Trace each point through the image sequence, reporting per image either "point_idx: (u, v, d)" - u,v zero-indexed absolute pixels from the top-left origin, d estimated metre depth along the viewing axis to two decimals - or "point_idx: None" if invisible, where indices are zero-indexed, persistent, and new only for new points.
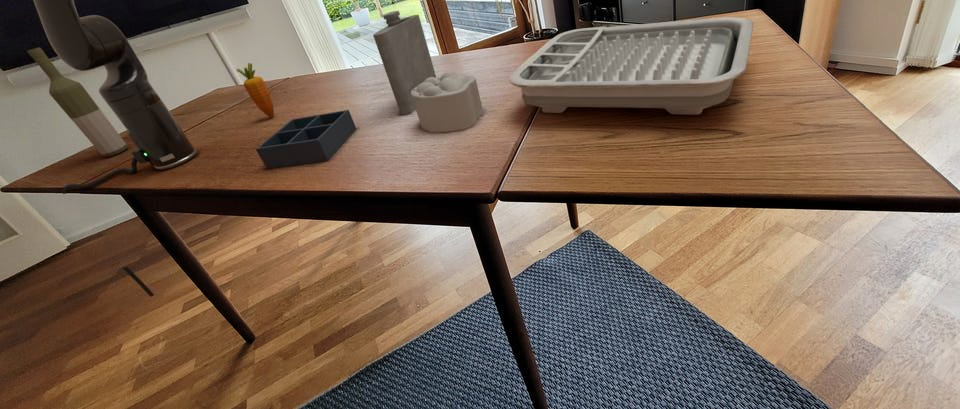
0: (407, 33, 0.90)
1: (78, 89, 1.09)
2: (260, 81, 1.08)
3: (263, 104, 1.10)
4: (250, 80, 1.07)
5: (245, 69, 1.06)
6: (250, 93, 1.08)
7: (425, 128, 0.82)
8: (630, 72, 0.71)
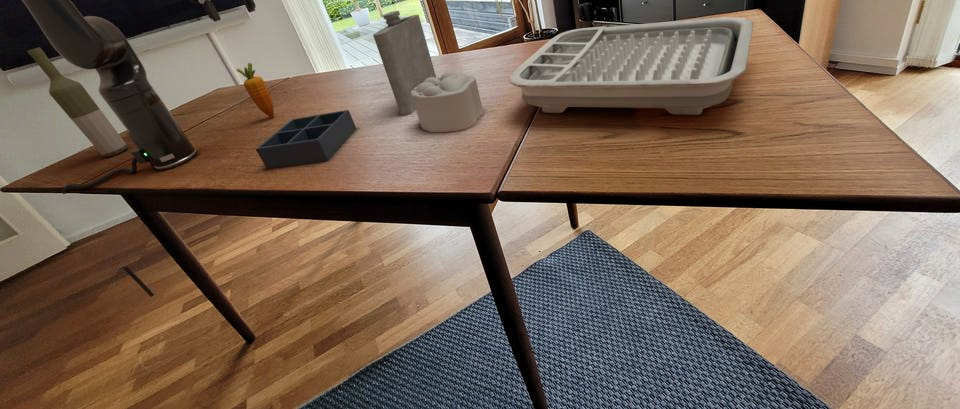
0: (407, 33, 0.90)
1: (78, 89, 1.09)
2: (260, 81, 1.08)
3: (263, 104, 1.10)
4: (250, 80, 1.07)
5: (245, 69, 1.06)
6: (250, 93, 1.08)
7: (425, 128, 0.82)
8: (630, 72, 0.71)
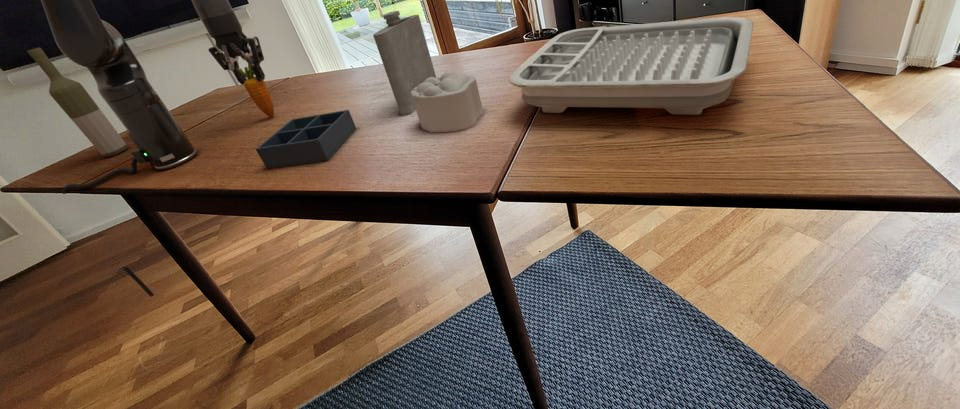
0: (407, 33, 0.90)
1: (78, 89, 1.09)
2: (260, 81, 1.08)
3: (263, 104, 1.10)
4: (250, 80, 1.07)
5: (245, 69, 1.06)
6: (250, 93, 1.08)
7: (425, 128, 0.82)
8: (630, 72, 0.71)
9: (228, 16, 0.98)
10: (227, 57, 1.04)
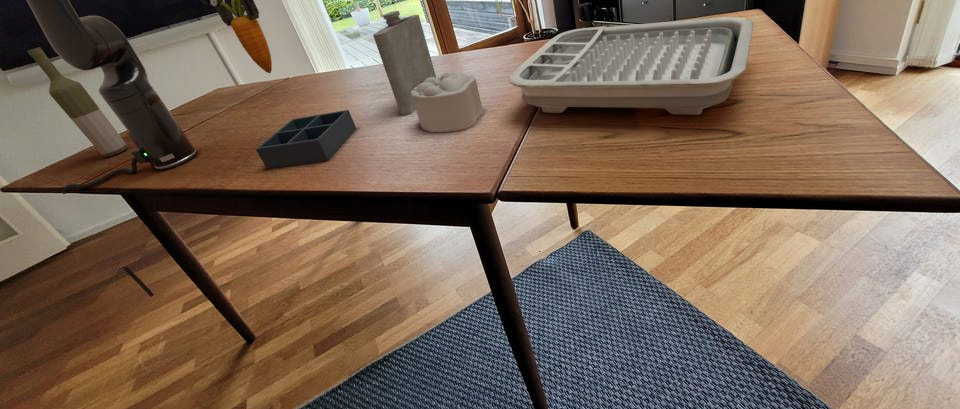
0: (407, 33, 0.90)
1: (78, 89, 1.09)
2: (253, 20, 0.80)
3: (258, 53, 0.83)
4: (240, 18, 0.79)
5: (233, 2, 0.78)
6: (240, 37, 0.81)
7: (425, 128, 0.82)
8: (630, 72, 0.71)
9: None
10: None
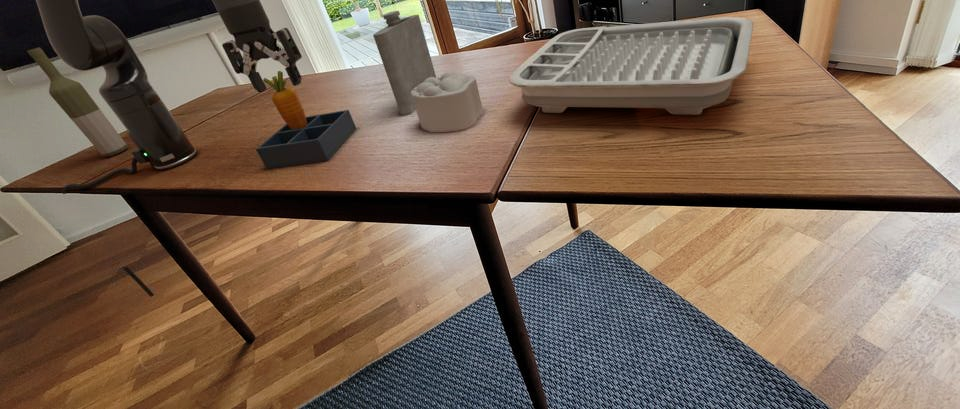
0: (407, 33, 0.90)
1: (78, 89, 1.09)
2: (293, 94, 0.85)
3: (296, 123, 0.87)
4: (280, 93, 0.84)
5: (274, 79, 0.82)
6: (280, 109, 0.85)
7: (425, 128, 0.82)
8: (630, 72, 0.71)
9: (253, 6, 0.74)
10: (246, 59, 0.80)
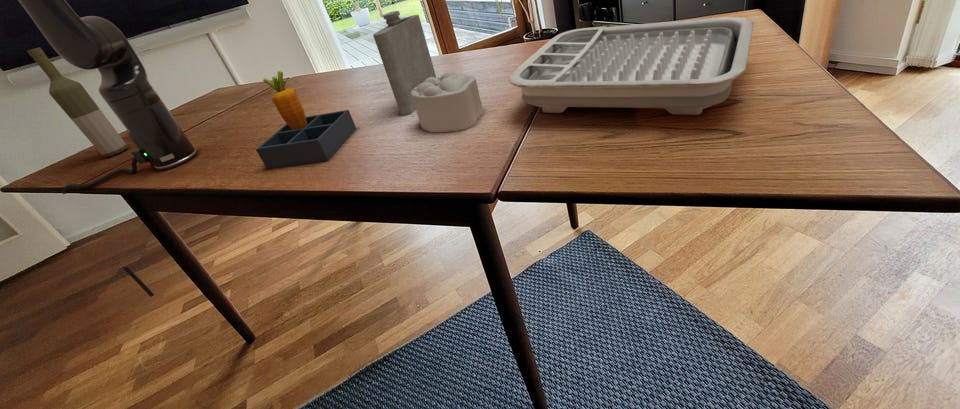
0: (407, 33, 0.90)
1: (78, 89, 1.09)
2: (293, 94, 0.85)
3: (296, 123, 0.87)
4: (280, 93, 0.84)
5: (274, 79, 0.82)
6: (280, 109, 0.85)
7: (425, 128, 0.82)
8: (630, 72, 0.71)
9: None
10: None
